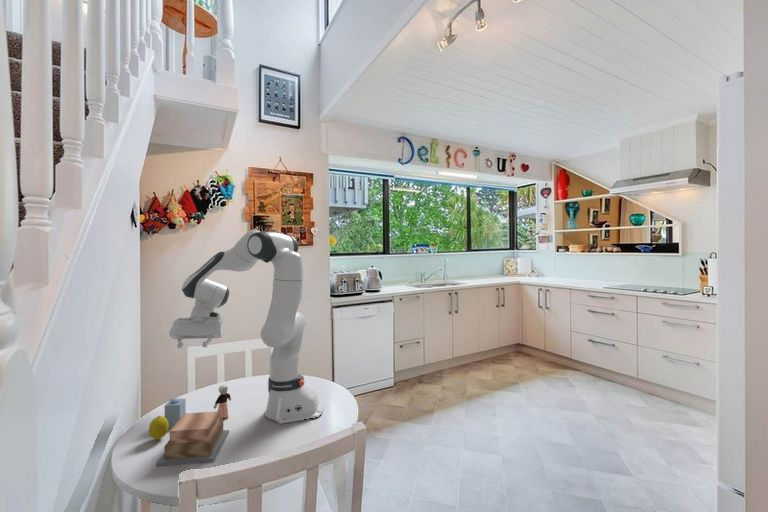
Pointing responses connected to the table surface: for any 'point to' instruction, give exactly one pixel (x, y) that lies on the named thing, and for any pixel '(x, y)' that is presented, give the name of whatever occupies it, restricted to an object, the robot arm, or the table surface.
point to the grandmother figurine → (222, 402)
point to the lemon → (158, 427)
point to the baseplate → (196, 459)
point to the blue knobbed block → (175, 410)
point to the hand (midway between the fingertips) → (192, 347)
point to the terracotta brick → (194, 435)
